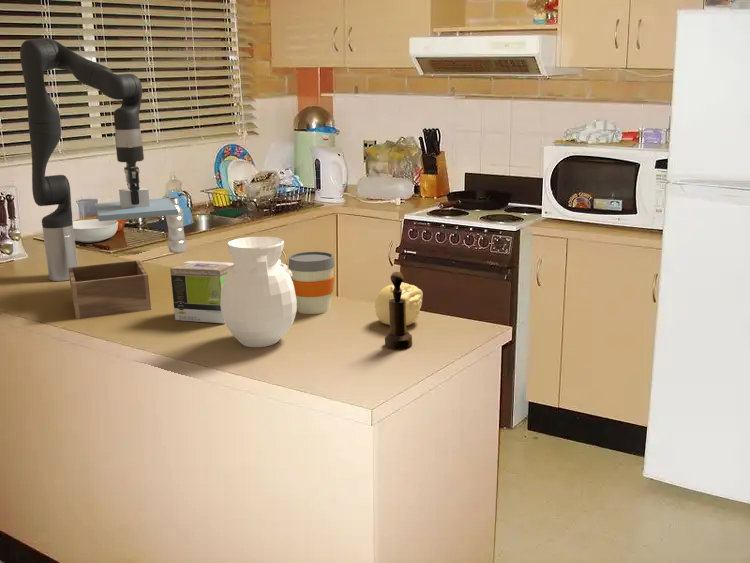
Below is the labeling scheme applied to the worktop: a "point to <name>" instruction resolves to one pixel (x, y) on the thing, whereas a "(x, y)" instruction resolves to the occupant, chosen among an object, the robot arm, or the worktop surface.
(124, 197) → the lid
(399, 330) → the dark brown tall piece
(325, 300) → the reusable coffee cup
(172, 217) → the plastic bottle
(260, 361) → the worktop surface
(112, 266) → the box
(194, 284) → the tea box
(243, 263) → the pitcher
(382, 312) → the sculpture
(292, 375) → the worktop surface
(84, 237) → the serving bowl
